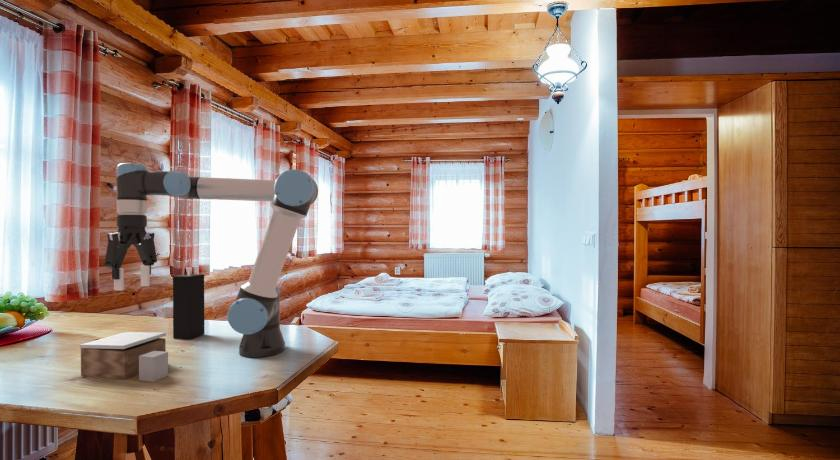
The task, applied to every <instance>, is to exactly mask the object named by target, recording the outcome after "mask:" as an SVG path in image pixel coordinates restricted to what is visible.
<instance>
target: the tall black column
mask: <svg viewBox="0 0 840 460" xmlns="http://www.w3.org/2000/svg"><path fill="white" fill-rule="evenodd" d="M185 269H186V270H185V271H186V273H185V274H179V275H178V274H177V275H173V276H172V329H173V330H172V333H173V334H172V337H173V339H178V340H179V339H181V340H193V339H195V338H198V337H201V336H203V335H205V274H203V273H192V270H193V267H188V266H185Z"/></svg>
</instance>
